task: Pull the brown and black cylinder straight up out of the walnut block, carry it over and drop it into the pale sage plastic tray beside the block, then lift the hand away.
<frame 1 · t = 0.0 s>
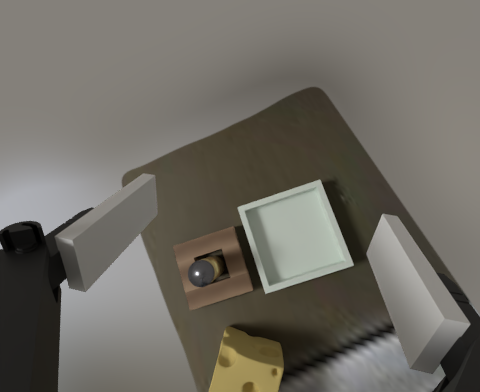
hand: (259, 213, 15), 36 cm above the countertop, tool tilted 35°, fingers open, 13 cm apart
pin block: (214, 266, 50), on the countertop
cheese: (248, 361, 47), on the countertop
tray: (291, 235, 50), on the countertop
brown and black cylinder: (208, 269, 45), in the pin block
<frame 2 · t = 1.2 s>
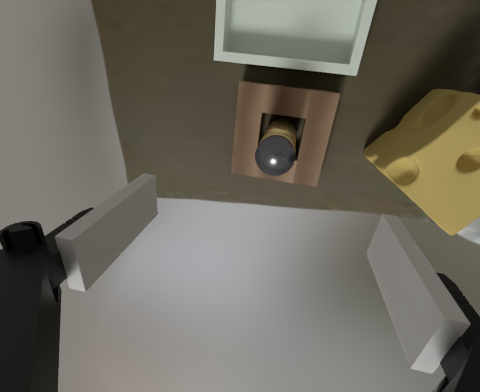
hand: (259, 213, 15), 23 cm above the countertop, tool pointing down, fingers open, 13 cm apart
pin block: (281, 133, 36), on the countertop
cheese: (423, 144, 33), on the countertop
brown and black cylinder: (278, 143, 31), in the pin block
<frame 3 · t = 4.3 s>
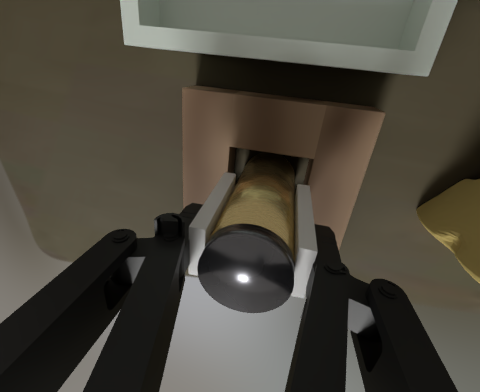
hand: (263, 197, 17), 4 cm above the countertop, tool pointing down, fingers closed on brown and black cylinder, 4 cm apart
pin block: (268, 177, 20), on the countertop
brown and black cylinder: (260, 211, 15), in the pin block, touching gripper
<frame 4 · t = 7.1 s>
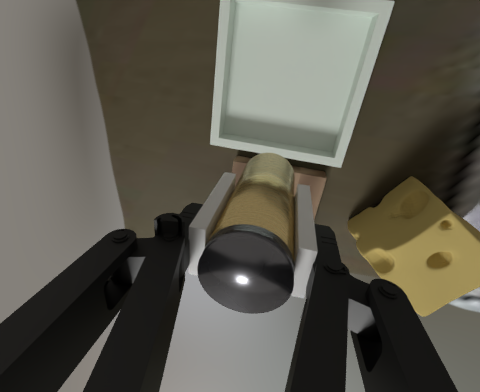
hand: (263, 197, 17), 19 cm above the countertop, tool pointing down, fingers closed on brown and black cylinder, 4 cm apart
pin block: (272, 201, 38), on the countertop
cheese: (402, 219, 36), on the countertop
tray: (288, 82, 31), on the countertop
brown and black cylinder: (260, 212, 15), point 21 cm above the countertop, touching gripper
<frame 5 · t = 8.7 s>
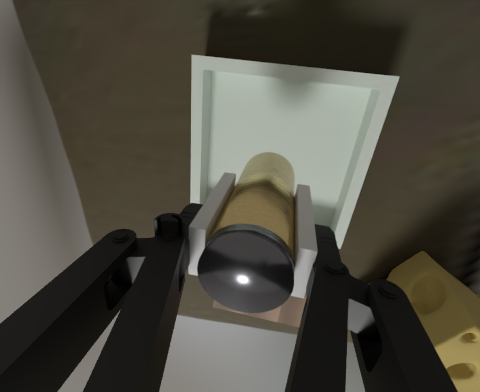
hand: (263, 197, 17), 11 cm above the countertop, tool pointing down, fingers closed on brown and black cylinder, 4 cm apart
pin block: (265, 270, 34), on the countertop
cheese: (413, 293, 32), on the countertop
tray: (276, 151, 27), on the countertop
brown and black cylinder: (260, 211, 15), point 13 cm above the countertop, touching gripper
when the fingers open (7 cm above the countertop, at t = 10.0 s): brown and black cylinder drops 2 cm, resting on tray.
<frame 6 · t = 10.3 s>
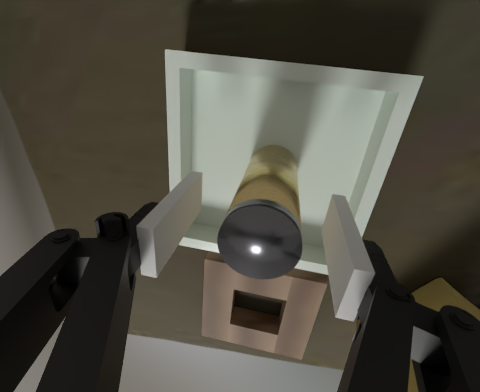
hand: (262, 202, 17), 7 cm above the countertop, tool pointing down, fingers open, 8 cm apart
pin block: (259, 295, 30), on the countertop
cheese: (427, 322, 28), on the countertop
tray: (271, 164, 23), on the countertop
brown and black cylinder: (267, 196, 17), in the tray, point 6 cm above the countertop
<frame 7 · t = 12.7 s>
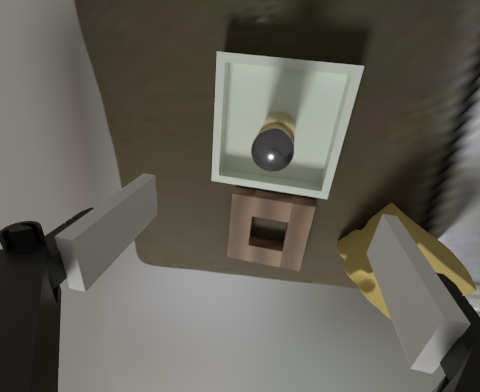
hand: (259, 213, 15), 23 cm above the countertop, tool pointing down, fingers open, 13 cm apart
pin block: (268, 225, 42), on the countertop
cheese: (386, 239, 40), on the countertop
tray: (278, 125, 35), on the countertop
brown and black cylinder: (276, 137, 29), in the tray, point 6 cm above the countertop
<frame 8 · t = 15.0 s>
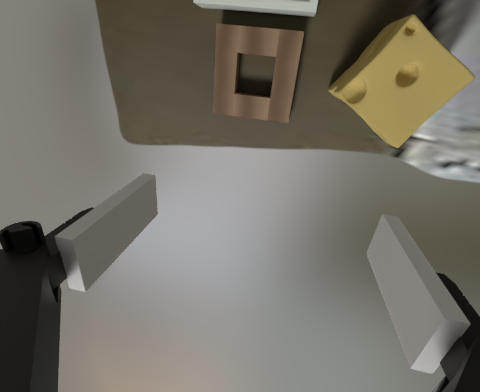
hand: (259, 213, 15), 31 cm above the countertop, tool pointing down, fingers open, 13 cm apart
pin block: (256, 75, 40), on the countertop
cheese: (380, 81, 38), on the countertop
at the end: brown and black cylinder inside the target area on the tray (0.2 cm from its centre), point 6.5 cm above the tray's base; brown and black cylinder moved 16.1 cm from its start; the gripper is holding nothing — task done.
